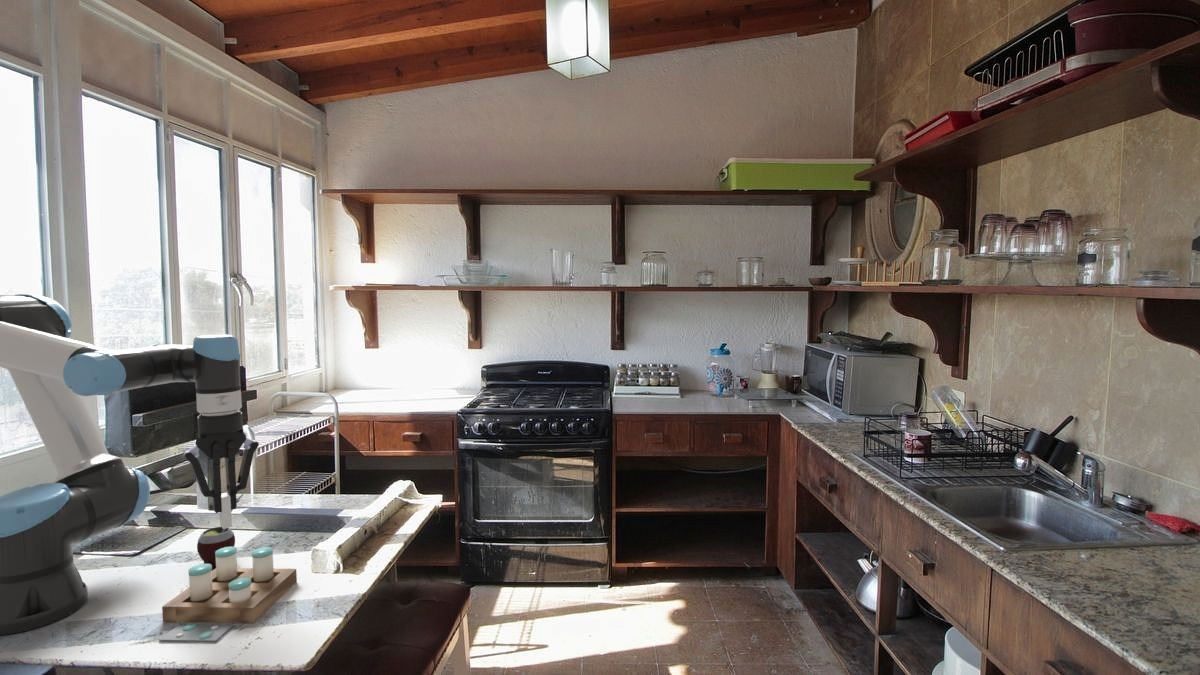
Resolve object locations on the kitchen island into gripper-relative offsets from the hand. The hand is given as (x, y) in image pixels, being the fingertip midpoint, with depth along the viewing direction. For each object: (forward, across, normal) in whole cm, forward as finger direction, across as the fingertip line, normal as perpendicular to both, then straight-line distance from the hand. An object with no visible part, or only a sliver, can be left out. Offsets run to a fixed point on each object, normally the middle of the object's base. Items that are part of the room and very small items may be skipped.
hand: (226, 526), depth 117 cm
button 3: (+14, 0, -10) cm, 17 cm away
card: (+14, -8, -13) cm, 20 cm away
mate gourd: (+14, +1, +15) cm, 20 cm away
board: (+14, 0, -5) cm, 15 cm away
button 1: (+11, -6, -5) cm, 13 cm away
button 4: (+11, +5, -5) cm, 13 cm away
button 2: (+11, 0, 0) cm, 11 cm away
